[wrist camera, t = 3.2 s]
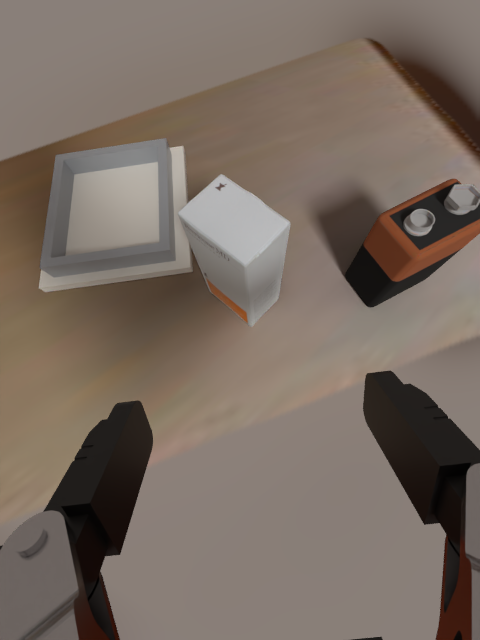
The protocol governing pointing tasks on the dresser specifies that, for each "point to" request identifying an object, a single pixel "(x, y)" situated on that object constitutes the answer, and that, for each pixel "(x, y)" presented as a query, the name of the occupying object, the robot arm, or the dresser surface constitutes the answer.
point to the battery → (415, 240)
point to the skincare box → (237, 246)
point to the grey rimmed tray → (116, 216)
